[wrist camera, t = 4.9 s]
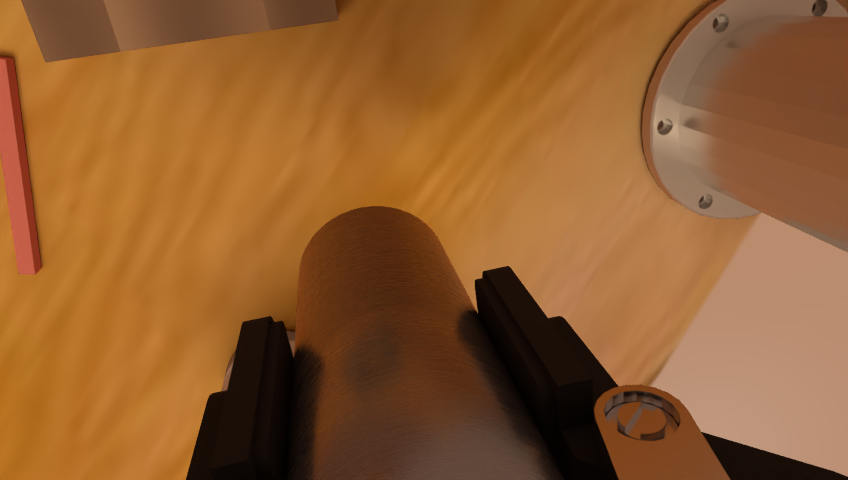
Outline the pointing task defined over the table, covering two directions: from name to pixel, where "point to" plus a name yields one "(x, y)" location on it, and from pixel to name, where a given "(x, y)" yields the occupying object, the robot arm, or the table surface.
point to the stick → (17, 172)
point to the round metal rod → (399, 365)
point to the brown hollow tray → (158, 22)
